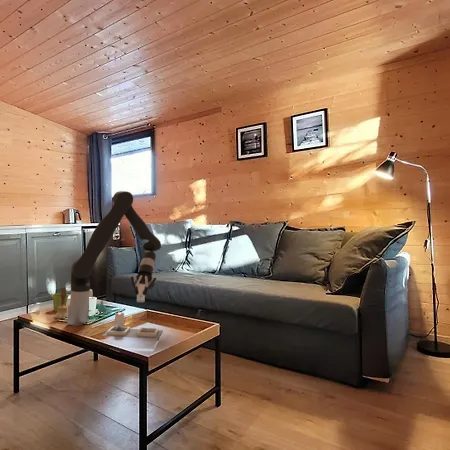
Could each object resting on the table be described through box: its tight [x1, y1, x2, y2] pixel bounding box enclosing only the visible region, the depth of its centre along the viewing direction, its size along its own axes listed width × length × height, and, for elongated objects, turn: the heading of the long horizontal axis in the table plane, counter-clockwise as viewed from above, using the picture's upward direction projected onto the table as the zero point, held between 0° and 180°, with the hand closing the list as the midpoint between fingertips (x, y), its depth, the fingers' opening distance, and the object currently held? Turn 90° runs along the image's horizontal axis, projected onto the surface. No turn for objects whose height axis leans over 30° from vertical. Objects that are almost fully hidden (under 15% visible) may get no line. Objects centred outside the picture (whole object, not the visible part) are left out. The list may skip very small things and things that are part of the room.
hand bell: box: [53, 287, 68, 319], centre depth 194 cm, size 8×8×16 cm
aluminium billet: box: [136, 283, 146, 303], centre depth 181 cm, size 4×4×9 cm
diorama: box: [97, 300, 108, 312], centre depth 206 cm, size 12×20×9 cm, turn 154°
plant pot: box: [51, 293, 70, 312], centre depth 209 cm, size 9×9×9 cm
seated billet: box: [114, 311, 125, 332], centre depth 167 cm, size 4×4×9 cm
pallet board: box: [101, 325, 164, 341], centre depth 168 cm, size 26×13×2 cm, turn 91°
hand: (140, 294), depth 179 cm, fingers closed on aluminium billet, 4 cm apart
